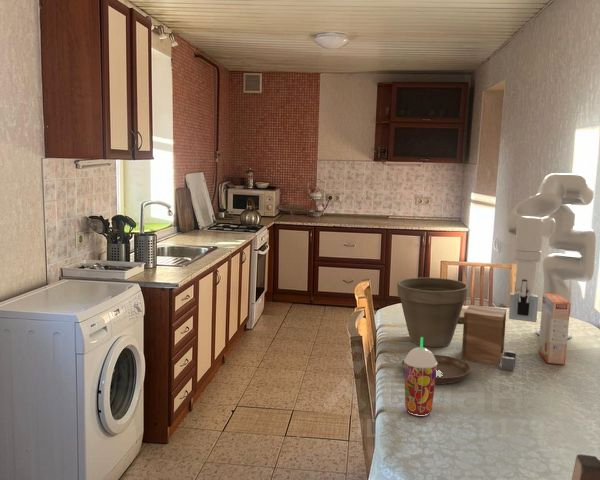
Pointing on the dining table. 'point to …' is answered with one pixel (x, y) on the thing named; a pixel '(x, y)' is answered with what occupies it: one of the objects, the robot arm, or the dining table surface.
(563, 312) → the cracker box
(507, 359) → the hinge clips
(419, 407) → the smoothie
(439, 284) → the plant pot
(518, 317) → the door
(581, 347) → the dining table surface
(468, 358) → the tan wooden box
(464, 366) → the plant saucer
